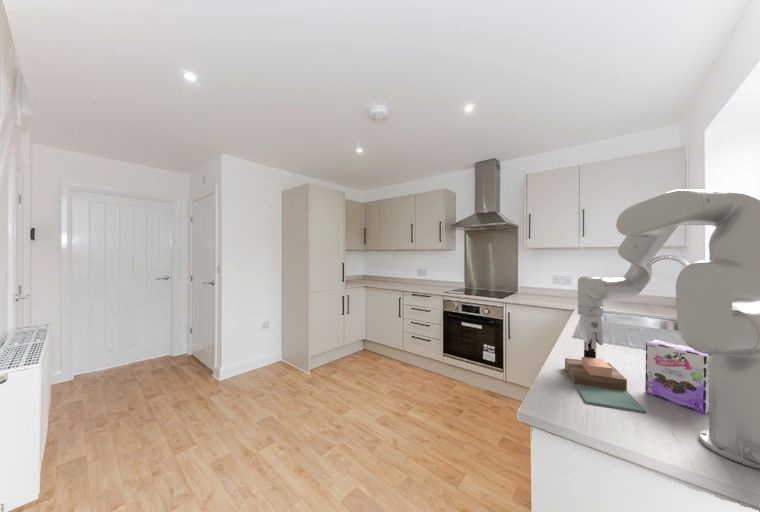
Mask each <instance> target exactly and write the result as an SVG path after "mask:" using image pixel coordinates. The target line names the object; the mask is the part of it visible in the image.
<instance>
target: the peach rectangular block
mask: <svg viewBox="0 0 760 512" xmlns="http://www.w3.org/2000/svg"><path fill="white" fill-rule="evenodd" d="M581 360H582V366H583V367H584V368H585V370H586V371H587V372H588V373H589V374H590V375H596V376H604V377H612V368H611V367H610V366H609V365H608V364H607V363H608V362H606V361H605V360H604V359H602V358H597V357H596V358H589V357H584V356H581Z"/></svg>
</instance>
